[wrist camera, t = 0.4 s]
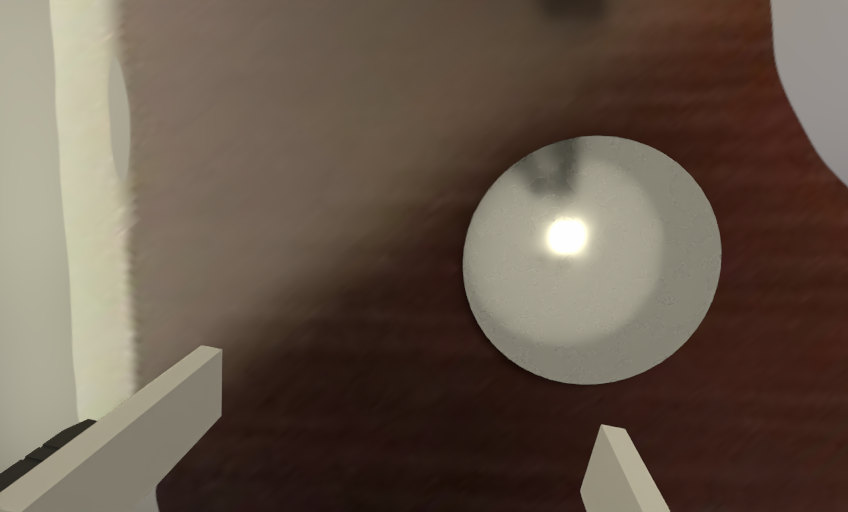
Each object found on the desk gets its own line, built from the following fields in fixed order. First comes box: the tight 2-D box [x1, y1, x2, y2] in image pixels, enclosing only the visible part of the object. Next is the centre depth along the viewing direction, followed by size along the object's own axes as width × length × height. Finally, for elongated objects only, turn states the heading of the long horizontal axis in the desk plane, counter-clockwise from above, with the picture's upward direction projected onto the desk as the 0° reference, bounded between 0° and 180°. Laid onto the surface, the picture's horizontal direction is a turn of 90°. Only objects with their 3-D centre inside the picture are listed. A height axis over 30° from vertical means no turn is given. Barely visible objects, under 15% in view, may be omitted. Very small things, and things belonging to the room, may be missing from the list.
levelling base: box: [463, 136, 721, 384], centre depth 37 cm, size 22×22×4 cm
